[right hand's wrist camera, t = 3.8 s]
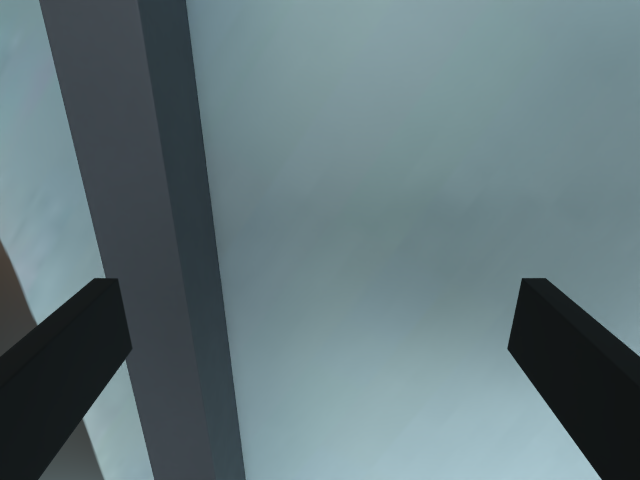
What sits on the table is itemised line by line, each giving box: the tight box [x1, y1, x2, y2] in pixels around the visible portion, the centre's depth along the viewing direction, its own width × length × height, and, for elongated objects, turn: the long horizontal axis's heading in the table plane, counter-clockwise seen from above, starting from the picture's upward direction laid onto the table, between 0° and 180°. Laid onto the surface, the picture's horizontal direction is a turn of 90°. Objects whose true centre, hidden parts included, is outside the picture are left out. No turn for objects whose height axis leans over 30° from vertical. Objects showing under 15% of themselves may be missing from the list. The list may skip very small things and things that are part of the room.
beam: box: [39, 0, 245, 480], centre depth 32 cm, size 71×5×8 cm, turn 1°
